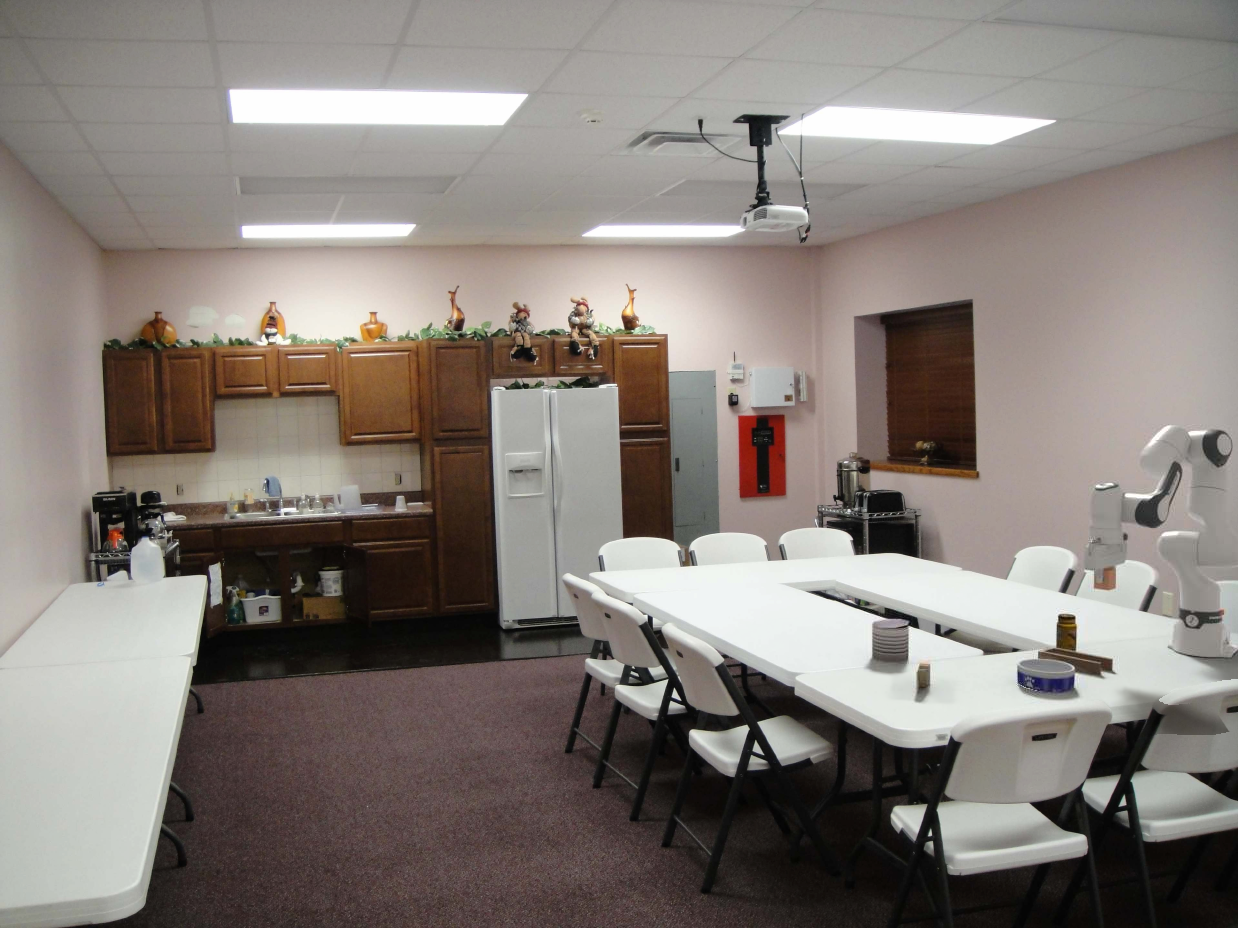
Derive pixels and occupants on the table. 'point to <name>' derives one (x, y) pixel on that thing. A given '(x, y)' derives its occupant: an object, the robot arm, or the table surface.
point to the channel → (1078, 660)
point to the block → (1106, 580)
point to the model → (922, 674)
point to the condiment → (1066, 632)
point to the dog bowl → (1046, 675)
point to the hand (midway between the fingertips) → (1104, 581)
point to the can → (890, 640)
